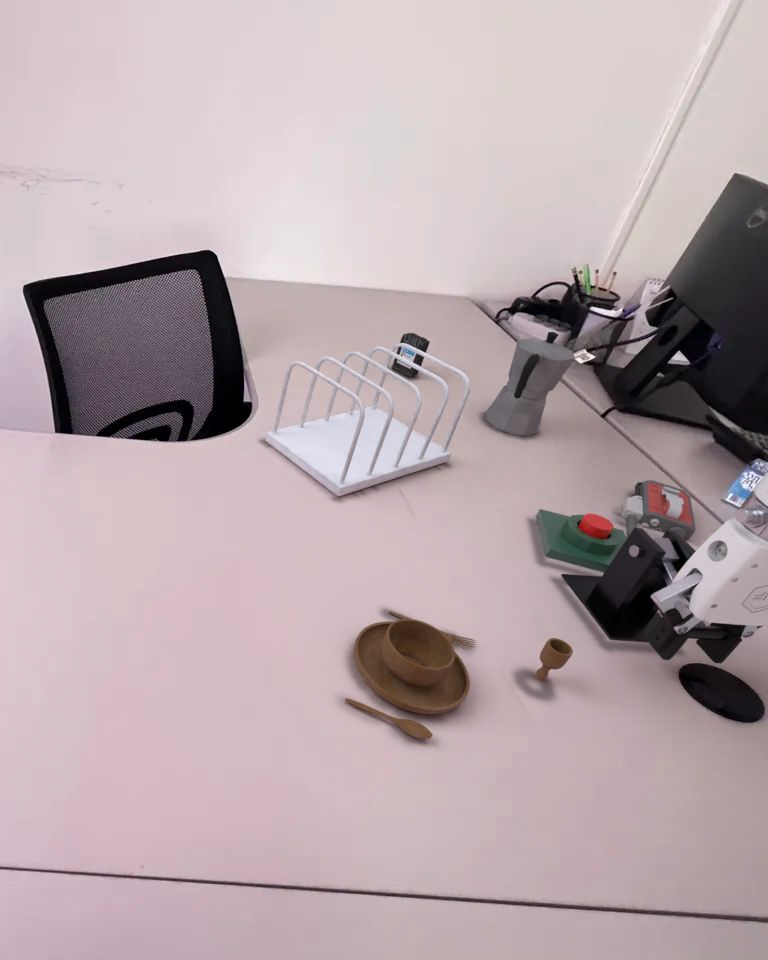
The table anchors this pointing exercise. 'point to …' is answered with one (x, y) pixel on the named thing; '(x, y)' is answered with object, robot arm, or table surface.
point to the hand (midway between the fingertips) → (683, 650)
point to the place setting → (424, 668)
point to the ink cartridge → (410, 354)
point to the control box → (576, 541)
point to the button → (596, 526)
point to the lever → (699, 629)
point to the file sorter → (363, 430)
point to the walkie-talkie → (660, 509)
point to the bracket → (629, 586)
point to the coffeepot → (529, 385)
